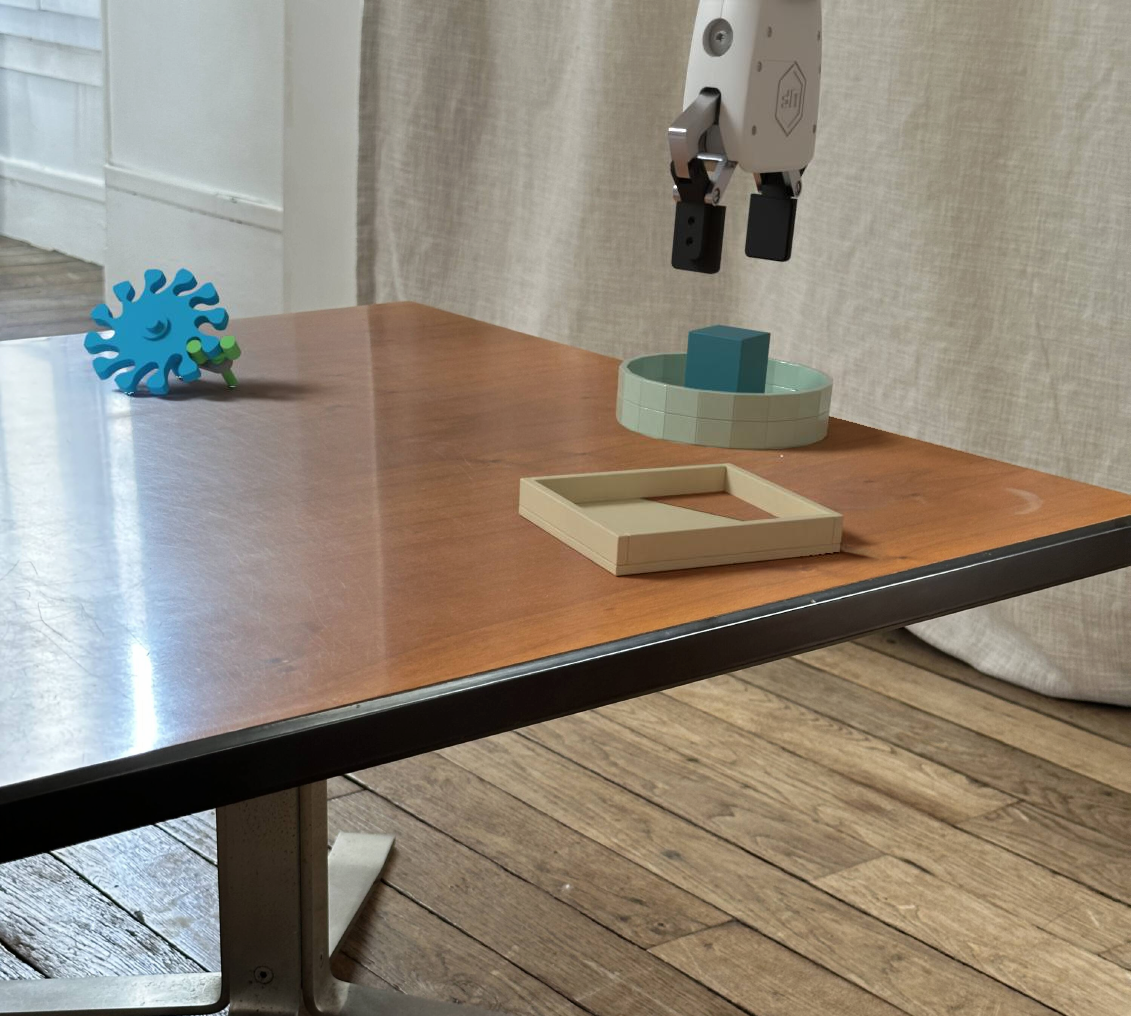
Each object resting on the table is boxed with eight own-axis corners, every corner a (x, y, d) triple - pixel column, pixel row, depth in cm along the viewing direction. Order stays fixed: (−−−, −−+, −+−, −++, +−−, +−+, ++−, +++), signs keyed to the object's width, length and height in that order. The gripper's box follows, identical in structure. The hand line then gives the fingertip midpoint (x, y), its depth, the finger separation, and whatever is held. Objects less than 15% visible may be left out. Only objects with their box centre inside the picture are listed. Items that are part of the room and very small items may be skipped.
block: (709, 413, 109) (717, 324, 107) (761, 423, 107) (771, 332, 105) (680, 422, 106) (688, 330, 104) (733, 433, 104) (742, 339, 102)
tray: (726, 496, 92) (729, 462, 91) (840, 552, 83) (844, 515, 82) (518, 514, 86) (519, 477, 86) (615, 576, 77) (618, 536, 76)
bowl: (752, 405, 116) (758, 348, 114) (868, 450, 104) (876, 389, 103) (580, 414, 110) (583, 355, 108) (682, 464, 99) (688, 399, 97)
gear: (53, 362, 108) (123, 246, 111) (89, 411, 113) (155, 299, 116) (193, 405, 105) (260, 285, 108) (223, 453, 111) (287, 338, 113)
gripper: (751, -39, 87) (719, 284, 94) (878, -20, 101) (842, 262, 108) (634, -44, 91) (611, 268, 98) (772, -25, 104) (743, 248, 111)
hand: (732, 264), depth 103 cm, fingers open, 9 cm apart
